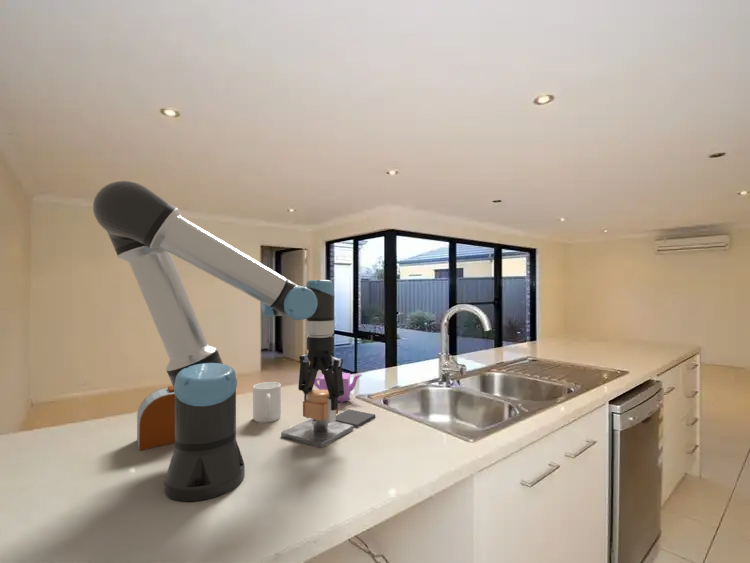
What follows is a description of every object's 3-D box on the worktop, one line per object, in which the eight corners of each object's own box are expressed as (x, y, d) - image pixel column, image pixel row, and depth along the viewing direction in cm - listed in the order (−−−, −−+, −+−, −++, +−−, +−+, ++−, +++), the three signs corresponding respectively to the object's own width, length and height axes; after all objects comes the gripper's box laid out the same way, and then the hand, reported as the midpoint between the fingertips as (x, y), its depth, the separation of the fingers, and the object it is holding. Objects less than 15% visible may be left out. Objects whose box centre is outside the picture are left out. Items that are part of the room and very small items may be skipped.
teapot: (363, 394, 140) (363, 367, 141) (361, 406, 127) (361, 376, 127) (315, 395, 141) (315, 368, 141) (308, 406, 127) (308, 376, 127)
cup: (279, 412, 121) (279, 381, 121) (283, 425, 110) (283, 390, 110) (252, 415, 118) (252, 383, 118) (253, 429, 107) (253, 393, 107)
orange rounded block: (197, 427, 108) (197, 380, 109) (203, 436, 101) (203, 386, 102) (136, 439, 100) (137, 388, 100) (139, 450, 93) (139, 396, 93)
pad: (357, 427, 107) (357, 424, 107) (329, 421, 113) (329, 418, 113) (375, 417, 116) (375, 414, 116) (349, 411, 121) (349, 409, 121)
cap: (322, 421, 98) (322, 398, 98) (302, 416, 102) (302, 394, 102) (338, 413, 104) (338, 391, 104) (319, 409, 108) (319, 388, 108)
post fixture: (321, 447, 94) (321, 411, 94) (281, 436, 101) (281, 402, 101) (353, 429, 106) (353, 397, 106) (315, 420, 113) (315, 390, 113)
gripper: (357, 336, 101) (358, 421, 101) (302, 332, 112) (303, 409, 111) (341, 339, 95) (341, 430, 94) (284, 334, 105) (284, 416, 105)
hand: (320, 419), depth 103 cm, fingers closed on cap, 7 cm apart
